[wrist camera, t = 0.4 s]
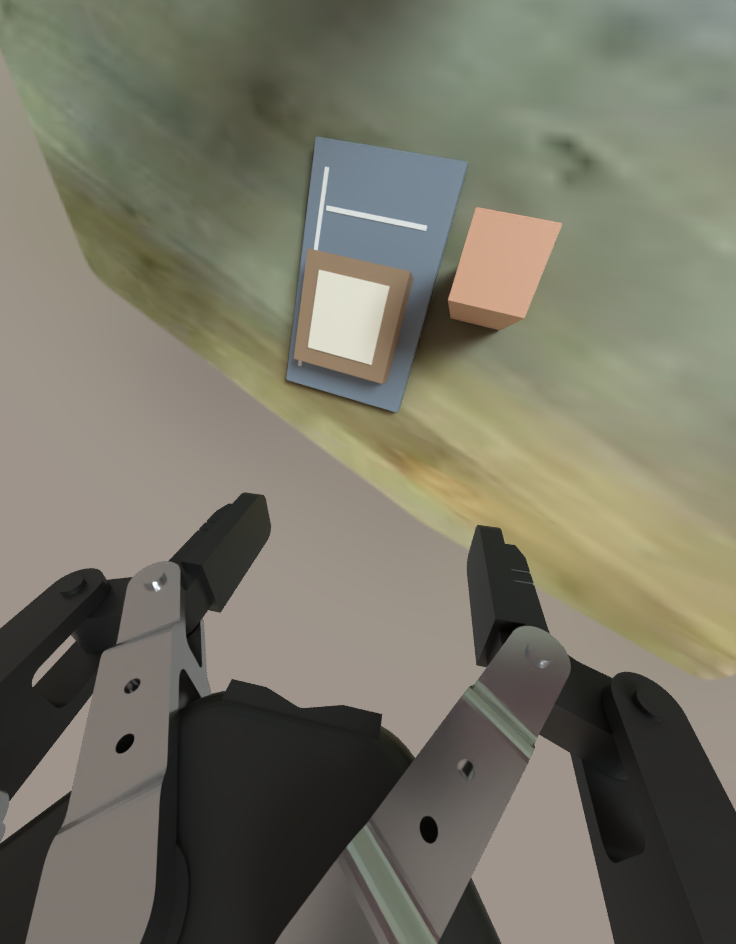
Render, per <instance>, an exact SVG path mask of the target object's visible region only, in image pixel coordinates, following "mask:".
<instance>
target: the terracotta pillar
mask: <svg viewBox="0 0 736 944" xmlns="http://www.w3.org/2000/svg"><path fill="white" fill-rule="evenodd" d="M562 224H563V223H559V222H553V221H548V220H543V219H537V218H532V217H527V216H521V215H516V214H511V213H505V212H500V211H495V210H489V209H484V208H479V207H476V209H475V213H474V216H473V219H472V222H471V226H470V229H469V232H468V236H467V239H466V242H465V246H464V249H463V252H462V255H461V259H460V262H459V265H458V269H457V272H456V275H455V279H454V282H453V285H452V289H451V292H450V295H449V298H448V304H449V311H450V317H451V319H455V320H459V321H463V322H467V323H471V324H476V325H480V326H484V327H488V328H492V329H496V330H502V329H504V328H506V327H508V326H510V325H512V324H514V323H516V322H518V321H520V320H522V319H524V318H525V316H526V313H527V311H528V308H529V306H530V303H531V301H532V298H533V296H534V293H535V291H536V288H537V286H538V283H539V281H540V278H541V276H542V273H543V271H544V268H545V266H546V263H547V261H548V258H549V256H550V253H551V251H552V248H553V246H554V243H555V241H556V239H557V236H558V234H559V231H560V229H561V226H562Z"/></svg>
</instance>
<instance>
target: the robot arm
mask: <svg viewBox="0 0 736 944" xmlns="http://www.w3.org/2000/svg"><path fill="white" fill-rule="evenodd" d="M270 531H271V524H270V518H269V513H268V509H267V503H266V498H265V496H264V495H260V494H252V493H242V494H241V495H240V496H239V497H238V498H237V499H236V500H235V501H234V503H233V504H227V505H225V506H224V507H222V508H221V509H219V510H217V511H216V512H215V513H214V514H213V515H212V516H211V517H210V518H209V519H208V520H207V523H204V524H203V525H202V526H201V527H200V529H199V531H197V532H196V533H195V534H194V535H193V536H192V537H191V538H190V539H189V540H188V541H187V542H186V543H185V544H184V545H183V546H182V548H181V549H180V550H179V551H178V552H177V553H176V554H175V555H174V556H173V557H172V558H171V559H170V560H169V561H167V562H166V561H164V562H158V563H155V564H152V565H150V566H147V567H145V568H144V569H142V570H141V571H139V572H138V573H137V574H136V575H135V576H134V577H129V578H120V579H111V580H107V579H106V578H105V576H104V575H103V573H102V572H101V571H100V570H98V569H94V568H93V569H92V568H90V569H82V570H78V571H75V572H73V573H70V574H68V575H66V576H64V577H63V578H61V579H59V580H58V581H56V582H55V583H54V584H52V585H51V586H50V587H49V588H48V589H46V590H45V591H44V592H43V593H42V594H41V595H39V596H38V597H37V598H36V599H35V600H33V602H31V603H30V604H29V605H28V606H26V607H25V608H24V609H23V610H22V611H20V612H19V613H18V614H17V615H16V616H15V617H13V618H12V619H11V620H10V621H9V622H7V623H6V624H5V625H4V626H3V627H2V628H0V841H1V839H2V838H3V836H4V833H5V824H4V823H2V822H3V820H4V818H5V816H6V813H7V809H8V806H9V801H10V800H11V799H12V797H13V796H14V795H15V793H16V792H17V791H18V789H19V788H20V787H21V786H22V784H23V783H24V782H25V780H26V779H27V778H28V776H29V775H30V774H31V773H32V771H33V770H34V769H35V768H36V766H37V765H38V764H39V762H40V761H41V760H42V758H43V757H44V756H45V755H46V753H47V752H48V751H49V749H50V748H51V747H52V746H53V744H54V743H55V742H56V740H57V739H58V738H59V737H60V735H61V734H62V733H63V731H64V730H65V729H66V727H67V726H68V725H69V724H70V722H71V721H72V720H73V718H74V717H75V716H76V715H77V713H78V712H79V711H80V709H81V708H82V707H83V705H84V704H85V703H86V702H87V700H88V699H89V698H90V696H91V695H92V694H93V696H92V700H91V705H90V709H89V714H88V718H87V723H86V728H85V732H84V737H83V741H82V746H81V751H80V755H79V760H78V764H77V769H76V773H75V778H74V783H73V787H72V791H70V792H69V793H68V794H66V795H65V796H63V797H62V798H61V799H60V800H58V801H57V802H55V803H54V804H53V805H51V806H50V807H49V808H47V809H46V810H45V811H43V812H42V813H41V814H39V815H38V816H37V817H35V818H34V819H33V820H31V821H30V822H29V823H27V824H26V825H24V826H23V827H22V828H21V829H19V830H18V831H17V832H15V833H14V834H12V835H11V836H10V837H8V838H7V839H6V840H4V841H3V842H2V843H0V944H501V942H500V939H499V937H498V935H497V933H496V931H495V928H494V926H493V924H492V922H491V920H490V918H489V915H488V913H487V911H486V909H485V907H484V904H483V902H482V900H481V898H480V896H479V893H478V891H477V889H476V887H475V885H474V882H473V880H472V878H471V876H472V874H473V872H474V870H475V868H476V866H477V864H478V862H479V860H480V858H481V856H482V854H483V852H484V850H485V848H486V846H487V844H488V842H489V840H490V838H491V836H492V834H493V832H494V830H495V828H496V826H497V824H498V822H499V820H500V818H501V816H502V814H503V812H504V810H505V808H506V806H507V804H508V802H509V800H510V798H511V796H512V794H513V792H514V790H515V788H516V786H517V784H518V782H519V780H520V778H521V776H522V774H523V772H524V770H525V768H526V766H527V764H528V762H529V760H530V758H531V756H532V754H533V751H534V748H535V746H534V744H535V742H536V739H537V737H538V735H541V736H543V737H544V738H546V739H548V740H550V741H551V742H553V743H555V744H556V745H558V746H560V747H561V748H563V749H565V750H566V751H568V752H570V754H571V758H572V762H573V767H574V771H575V775H576V780H577V784H578V788H579V792H580V797H581V801H582V805H583V810H584V814H585V818H586V822H587V827H588V831H589V835H590V839H591V843H592V848H593V852H594V856H595V861H596V865H597V870H598V874H599V878H600V882H601V887H602V891H603V895H604V900H605V904H606V908H607V912H608V917H609V921H610V926H611V930H612V934H613V939H614V943H615V944H736V811H735V809H734V808H733V806H732V804H731V802H730V800H729V798H728V796H727V794H726V792H725V790H724V788H723V786H722V784H721V782H720V781H719V779H718V777H717V775H716V773H715V771H714V769H713V767H712V765H711V763H710V762H709V759H708V757H707V755H706V754H705V752H704V750H703V748H702V746H701V744H700V742H699V740H698V738H697V736H696V734H695V732H694V730H693V728H692V726H691V725H690V723H689V721H688V719H687V717H686V715H685V713H684V711H683V710H682V708H681V707H680V706H679V704H678V703H677V702H676V701H675V700H674V698H673V697H672V696H671V695H670V694H669V693H668V692H667V691H666V690H664V689H663V688H662V687H661V686H659V685H658V684H657V683H655V682H654V681H652V680H650V679H648V678H647V677H644V676H642V675H640V674H636V673H632V672H621V673H618V674H617V675H615V676H614V678H611V677H609V676H607V675H604V674H603V673H600V672H598V671H596V670H594V669H592V668H590V667H588V666H586V665H583V664H582V663H580V662H578V661H576V660H575V659H573V658H572V657H570V656H569V655H568V654H567V652H566V650H565V649H564V647H563V646H562V645H561V644H560V643H559V641H558V640H557V639H556V638H554V637H553V636H552V635H551V634H550V633H549V630H548V627H547V624H546V621H545V618H544V615H543V612H542V609H541V605H540V602H539V599H538V596H537V593H536V590H535V586H534V585H533V580H532V577H531V574H530V573H529V572H530V571H529V567H528V564H527V561H526V558H525V557H524V555H523V554H522V553H521V552H520V550H519V549H518V548H517V547H516V546H515V545H510V544H505V542H504V539H503V535H502V531H501V529H500V528H497V527H489V526H482V525H477V527H476V529H475V533H474V536H473V540H472V544H471V547H470V551H469V554H468V561H467V577H468V587H469V596H470V606H471V616H472V626H473V635H474V646H475V655H476V665H478V666H483V667H487V668H486V669H485V671H484V672H483V673H482V675H481V676H480V677H479V679H478V680H477V681H476V683H475V684H474V685H473V686H470V687H469V688H468V689H467V690H466V691H465V692H464V694H463V695H462V696H461V698H460V699H459V700H458V702H457V703H456V704H455V706H454V707H453V708H452V710H451V711H450V712H449V714H448V715H447V716H446V718H445V719H444V720H443V722H442V723H441V725H440V726H439V727H438V729H437V730H436V731H435V732H434V734H433V735H432V737H431V738H430V739H429V741H428V742H427V743H426V745H425V746H424V747H423V749H422V750H421V751H420V753H419V754H418V755H417V757H416V758H415V757H414V756H413V755H412V753H411V752H410V751H409V749H408V748H407V747H406V746H405V745H404V744H403V743H402V742H401V741H400V739H399V738H397V737H396V736H395V735H394V734H393V733H391V732H390V731H389V730H387V729H385V728H384V727H382V726H381V719H382V714H379V713H374V712H370V711H366V710H362V709H357V708H353V707H349V706H345V705H338V706H325V707H313V708H299V707H297V706H295V705H294V704H292V703H291V702H289V701H288V700H286V699H284V698H283V697H281V696H280V695H278V694H277V693H275V692H273V691H272V690H270V689H268V688H267V687H263V686H259V685H255V684H251V683H246V682H242V681H238V680H233V679H232V680H231V682H230V684H229V686H228V688H227V690H226V691H222V692H217V693H213V694H211V689H210V685H209V682H208V678H207V669H206V652H205V651H206V650H205V632H204V620H203V616H204V615H205V613H206V612H207V610H210V611H215V612H221V611H222V609H223V608H224V606H225V605H226V603H227V601H228V600H229V598H230V597H231V596H232V594H233V592H234V591H235V589H236V588H237V586H238V585H239V583H240V582H241V580H242V578H243V577H244V576H245V574H246V572H247V571H248V569H249V568H250V566H251V565H252V563H253V562H254V560H255V559H256V557H257V556H258V554H259V552H260V551H261V549H262V548H263V546H264V545H265V543H266V542H267V540H268V538H269V535H270ZM70 635H71V636H72V637H73V638H74V639H75V640H76V642H75V643H74V644H73V645H72V646H71V647H70V648H69V649H68V650H67V651H66V652H65V654H64V655H63V656H62V657H61V658H60V659H59V660H58V661H57V662H56V663H55V664H54V665H53V666H52V668H51V669H50V670H49V671H48V672H47V673H46V674H45V675H44V676H43V677H42V678H41V679H40V680H39V681H38V683H37V684H36V685H35V686H34V687H32V679H33V676H34V674H35V673H36V671H37V670H38V668H39V667H40V666H41V665H42V664H43V663H44V662H45V661H46V660H47V659H48V658H49V657H50V656H51V655H52V654H53V653H54V651H55V650H56V649H57V648H58V647H59V646H60V645H61V644H62V643H63V642H64V641H65V640H66V639H67V638H68V637H69V636H70Z"/></svg>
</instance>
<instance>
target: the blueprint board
mask: <svg viewBox="0 0 736 944" xmlns="http://www.w3.org/2000/svg"><path fill="white" fill-rule="evenodd" d="M467 167H468V162H466V161H460V160H454V159H448V158H442V157H436V156H430V155H424V154H418V153H412V152H406V151H401V150H395V149H389V148H383V147H377V146H371V145H365V144H359V143H353V142H347V141H341V140H335V139H329V138H323V137H317V136H316V140H315V148H314V157H313V165H312V173H311V181H310V189H309V198H308V206H307V214H306V222H305V230H304V239H303V247H302V255H301V263H300V271H299V279H298V288H297V296H296V304H295V312H294V320H293V329H292V337H291V345H290V353H289V361H288V370H287V378H286V380H289V381H292V382H296V383H299V384H302V385H306V386H309V387H312V388H316V389H319V390H322V391H326V392H329V393H333V394H336V395H339V396H343V397H346V398H349V399H353V400H356V401H359V402H363V403H366V404H369V405H373V406H376V407H380V408H383V409H386V410H390V411H393V412H396V413H398V412H399V409H400V406H401V402H402V399H403V395H404V392H405V388H406V384H407V381H408V377H409V374H410V370H411V367H412V363H413V360H414V356H415V353H416V349H417V345H418V342H419V338H420V335H421V331H422V328H423V324H424V321H425V317H426V313H427V310H428V306H429V303H430V299H431V296H432V292H433V289H434V285H435V281H436V278H437V274H438V271H439V267H440V264H441V260H442V257H443V253H444V250H445V246H446V242H447V239H448V235H449V232H450V228H451V225H452V221H453V218H454V214H455V210H456V207H457V203H458V200H459V196H460V193H461V189H462V186H463V182H464V179H465V175H466V171H467Z"/></svg>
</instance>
